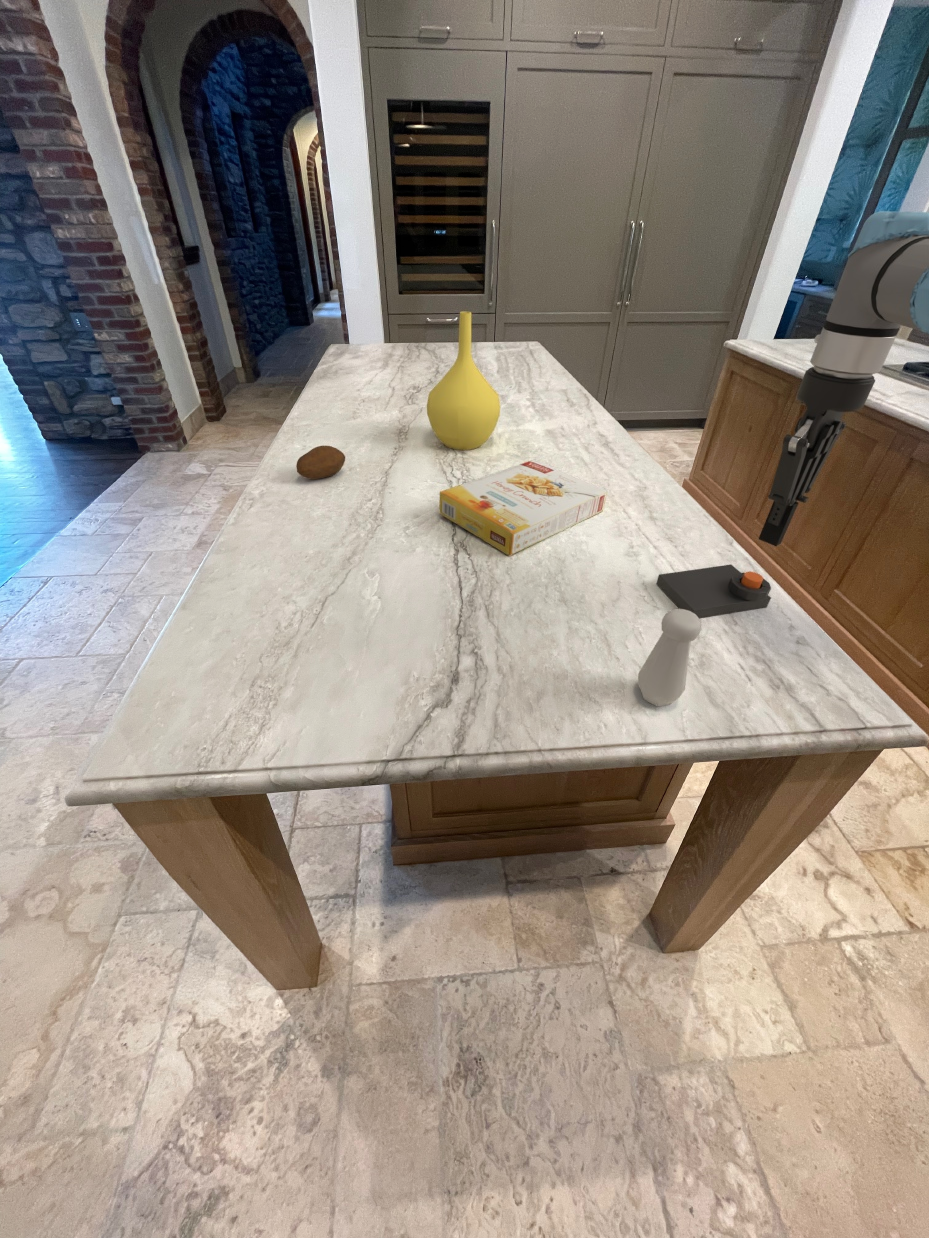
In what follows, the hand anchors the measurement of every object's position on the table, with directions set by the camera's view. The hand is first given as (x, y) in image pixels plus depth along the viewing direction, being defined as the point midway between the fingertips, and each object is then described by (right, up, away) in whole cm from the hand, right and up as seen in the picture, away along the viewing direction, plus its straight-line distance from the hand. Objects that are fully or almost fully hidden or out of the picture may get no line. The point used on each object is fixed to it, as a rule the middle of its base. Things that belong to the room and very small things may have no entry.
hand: (769, 541), depth 79 cm
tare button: (0, -6, +5) cm, 8 cm away
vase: (-46, +34, +60) cm, 82 cm away
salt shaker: (-20, -22, -10) cm, 31 cm away
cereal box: (-34, +10, +29) cm, 45 cm away
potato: (-77, +20, +41) cm, 90 cm away
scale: (-5, -8, +8) cm, 12 cm away
